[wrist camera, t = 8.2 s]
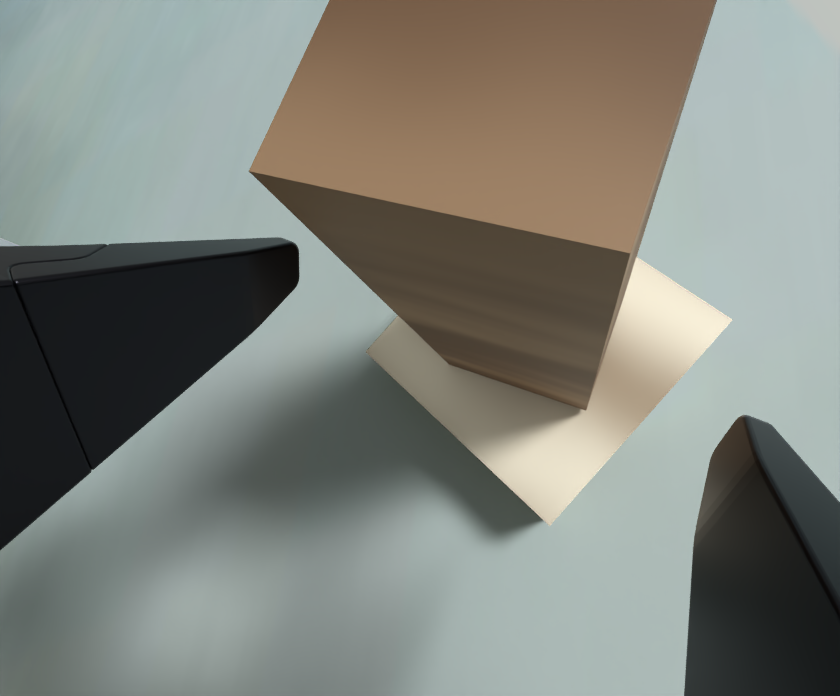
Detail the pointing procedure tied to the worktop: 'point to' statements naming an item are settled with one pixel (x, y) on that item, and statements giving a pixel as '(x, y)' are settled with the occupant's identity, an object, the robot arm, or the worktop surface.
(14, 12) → the worktop surface
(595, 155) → the walnut block
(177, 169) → the worktop surface
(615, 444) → the birch block
